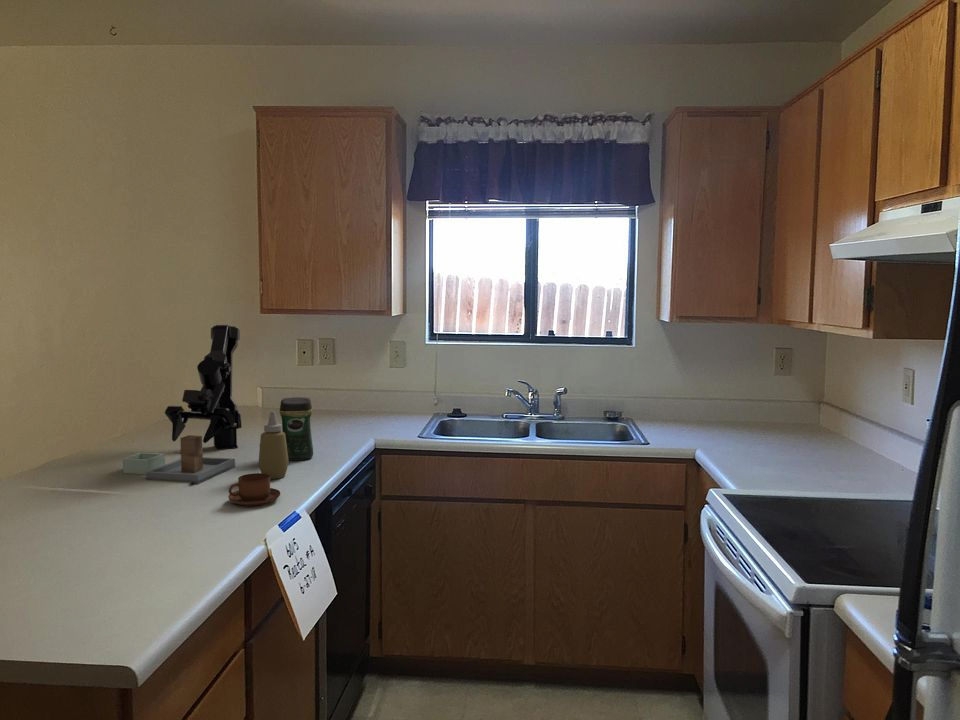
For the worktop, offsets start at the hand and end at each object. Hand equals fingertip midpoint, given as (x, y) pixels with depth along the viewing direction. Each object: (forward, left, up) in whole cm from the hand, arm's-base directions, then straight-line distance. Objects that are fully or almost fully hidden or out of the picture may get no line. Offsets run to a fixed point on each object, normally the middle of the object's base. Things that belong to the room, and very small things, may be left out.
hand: (188, 441), depth 197 cm
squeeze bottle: (-21, +11, -10) cm, 25 cm away
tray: (-1, -1, -9) cm, 9 cm away
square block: (-1, -1, -9) cm, 9 cm away
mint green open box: (+11, -8, -9) cm, 17 cm away
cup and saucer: (-13, +32, -10) cm, 36 cm away
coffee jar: (-31, -9, -10) cm, 33 cm away
